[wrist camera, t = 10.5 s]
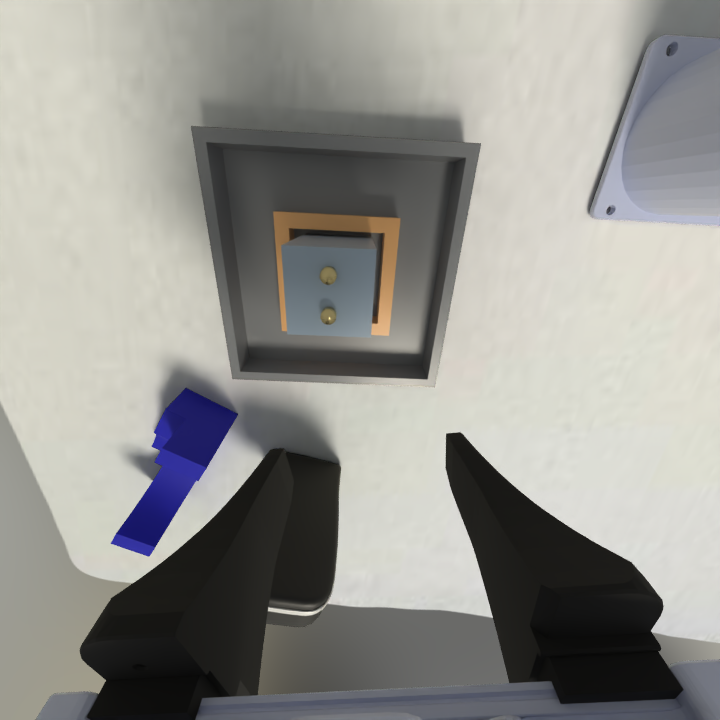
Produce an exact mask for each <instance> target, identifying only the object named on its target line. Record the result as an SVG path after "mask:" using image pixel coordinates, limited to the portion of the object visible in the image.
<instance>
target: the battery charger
mask: <svg viewBox="0 0 720 720" xmlns="http://www.w3.org/2000/svg"><path fill="white" fill-rule="evenodd" d="M285 453H286V452H285ZM286 456H287V459H288V463H289V466H290V469H291V472H292V476H293V479H294V485H293V493H292V500H291V506H290V510H289V513H288V517H287V521H286V525H285V529H284V533H283V536H282V540H281V544H280V548H279V552H278V555H277V560H276V564H275V569H274V575H273V581H272V587H271V593H270V600H269V606H268V613H267V620H266V624H273V625H283V626H291V627H305V626H307V625H309V624H312V623H313V622H314V621H315V620H316V619H317V618H318V616H319V615H320V613H321V611H322V609H323V608H324V607H325V606H326V604H327V603H328V601H329V599H330V597H331V594H332V591H333V587H334V581H335V571H336V560H337V547H338V521H339V485H340V476H341V466H340V465H338V464H334V463H330V462H327V461H323V460H319V459H314V458H310V457H306V456H301V455H296V454H291V453H286Z"/></svg>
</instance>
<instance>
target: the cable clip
mask: <svg viewBox="0 0 720 720" xmlns="http://www.w3.org/2000/svg"><path fill="white" fill-rule="evenodd" d="M237 415H238V414H237V413H235V412H233V411H231V410H229V409H227V408H225V407H223V406H221V405H219V404H217V403H215V402H213V401H211V400H209V399H207V398H205V397H203V396H201V395H199V394H197V393H195V392H193V391H191V390H189V389H187V388H185V389H184V391H183V392H182V393H181V394H180V395H179V396H178V397H177V398H176V399H175V400H174V401H173V402H172V403H171V404H170V405H169V406H168V407H167V408H166V409H165V411H164V413H163V415H162V417H161V419H160V421H159V423H158V425H157V427H156V429H155V431H154V433H155V434H156V438H155V440H154V443H153V445H152V447H153V448H156V449H158V450H160V453H159V455H158V456H157V458H156V460H155V463H157V464H159V465H162V468H161V469H160V471H159V473H158V474H157V476H156V477H155V479H154V480H153V482H152V483H151V485H150V486H149V488H148V489H147V491H146V492H145V494H144V495H143V497H142V498H141V500H140V501H139V503H138V504H137V505H136V507H135V508H134V510H133V511H132V513H131V514H130V515H129V517H128V518H127V520H126V521H125V522H124V524H123V525H122V526H121V528H120V529H119V530H118V532H117V533H116V535H115V537H114V539H113V540H112V542H111V544H114V545H117V546H120V547H122V548H125V549H128V550H131V551H134V552H137V553H140V554H143V555H146V556H150V555H151V553H152V551H153V550H154V548H155V547H156V545H157V543H158V542H159V540H160V539H161V537H162V535H163V534H164V532H165V530H166V529H167V527H168V525H169V524H170V522H171V520H172V519H173V517H174V516H175V514H176V512H177V511H178V509H179V507H180V506H181V504H182V502H183V501H184V499H185V498H186V496H187V494H188V493H189V491H190V490H191V488H192V486H193V485H194V483H195V482H196V480H197V481H199V479H200V477H201V476H202V474H203V473H204V471H205V470H206V468H207V467H208V465H209V463H210V461H211V460H212V458H213V456H214V455H215V453H216V451H217V449H218V448H219V446H220V444H221V443H222V441H223V439H224V438H225V436H226V434H227V432H228V431H229V429H230V427H231V426H232V424H233V422H234V420H235V419H236V417H237Z"/></svg>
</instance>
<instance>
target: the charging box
mask: <svg viewBox="0 0 720 720" xmlns="http://www.w3.org/2000/svg"><path fill="white" fill-rule="evenodd" d="M191 130H192V136H193V142H194V148H195V154H196V160H197V166H198V172H199V178H200V184H201V190H202V197H203V203H204V209H205V215H206V221H207V227H208V233H209V239H210V245H211V251H212V257H213V263H214V270H215V276H216V282H217V288H218V294H219V300H220V306H221V312H222V318H223V324H224V330H225V337H226V343H227V349H228V355H229V361H230V367H231V373H232V379H244V380H269V381H293V382H317V383H342V384H366V385H391V386H415V387H435V384H436V379H437V374H438V369H439V363H440V358H441V353H442V347H443V342H444V337H445V331H446V326H447V321H448V316H449V310H450V305H451V300H452V294H453V289H454V284H455V279H456V273H457V268H458V263H459V257H460V252H461V247H462V242H463V236H464V231H465V226H466V220H467V215H468V210H469V205H470V199H471V194H472V189H473V183H474V178H475V173H476V167H477V162H478V157H479V152H480V146H481V143H465V142H448V141H432V140H415V139H398V138H382V137H365V136H349V135H332V134H315V133H299V132H282V131H266V130H249V129H232V128H216V127H199V126H191ZM305 233H310V234H331V235H353V236H371V237H372V239H373V242H374V244H375V247H376V249H377V252H376V267H375V283H374V298H373V314H372V329H371V338H367V337H342V336H317V335H292V334H287V323H286V309H285V295H284V280H283V266H282V252H281V245H283V244H285V243H287V242H289V241H291V240H293V239H295V238H297V237H299V236H301V235H303V234H305Z"/></svg>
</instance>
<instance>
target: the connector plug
mask: <svg viewBox="0 0 720 720" xmlns="http://www.w3.org/2000/svg"><path fill="white" fill-rule="evenodd" d="M281 252H282V266H283V280H284V295H285V309H286V323H287V334H292V335H317V336H342V337H367V338H371V329H372V314H373V298H374V283H375V267H376V252H377V249H376V247H375V244H374V242H373V239H372V237H371V236H353V235H331V234H310V233H305V234H303V235H301V236H299V237H297V238H295V239H293V240H291V241H289V242H287V243H285V244H283V245H281Z"/></svg>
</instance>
